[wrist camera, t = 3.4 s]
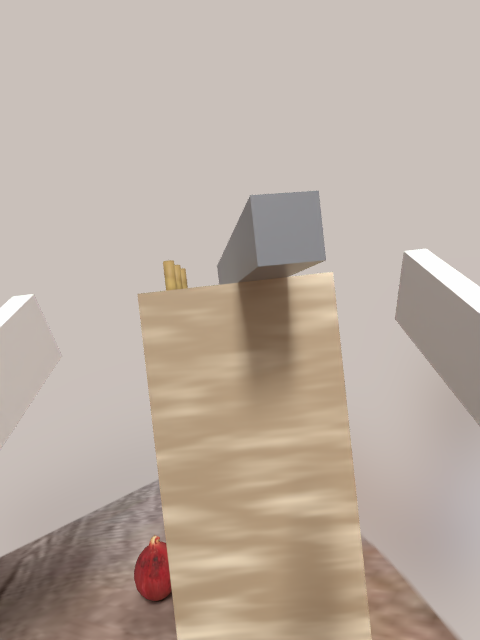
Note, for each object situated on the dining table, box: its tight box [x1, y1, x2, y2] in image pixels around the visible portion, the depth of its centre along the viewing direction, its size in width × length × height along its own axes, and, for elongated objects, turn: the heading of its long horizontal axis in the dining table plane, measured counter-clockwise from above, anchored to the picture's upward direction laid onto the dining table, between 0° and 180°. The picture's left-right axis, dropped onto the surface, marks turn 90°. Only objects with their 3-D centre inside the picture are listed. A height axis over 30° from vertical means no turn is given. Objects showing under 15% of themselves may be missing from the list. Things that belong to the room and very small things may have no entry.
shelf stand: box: [138, 261, 372, 640], centre depth 36 cm, size 14×16×41 cm
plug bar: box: [217, 191, 326, 285], centre depth 34 cm, size 27×4×4 cm, turn 7°
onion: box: [134, 535, 172, 601], centre depth 46 cm, size 6×6×8 cm
